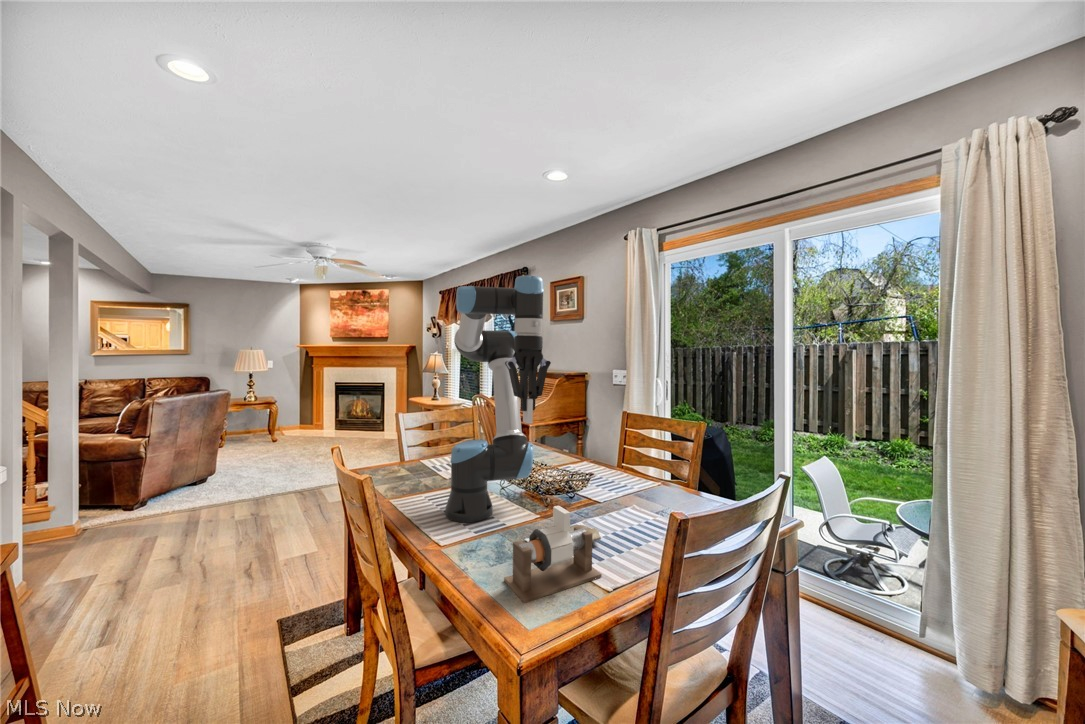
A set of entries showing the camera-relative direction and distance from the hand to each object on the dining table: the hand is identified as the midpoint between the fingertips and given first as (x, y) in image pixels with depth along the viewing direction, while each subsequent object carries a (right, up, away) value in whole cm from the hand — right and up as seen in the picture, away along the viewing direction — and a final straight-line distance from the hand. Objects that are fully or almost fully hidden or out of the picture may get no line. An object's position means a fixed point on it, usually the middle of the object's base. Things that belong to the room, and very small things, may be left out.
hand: (527, 422), depth 118 cm
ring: (+3, -32, -16) cm, 36 cm away
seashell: (+15, -35, +6) cm, 38 cm away
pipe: (+7, -29, -14) cm, 33 cm away
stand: (+7, -35, -14) cm, 38 cm away
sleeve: (+7, -31, -14) cm, 35 cm away
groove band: (+3, -30, -16) cm, 34 cm away
